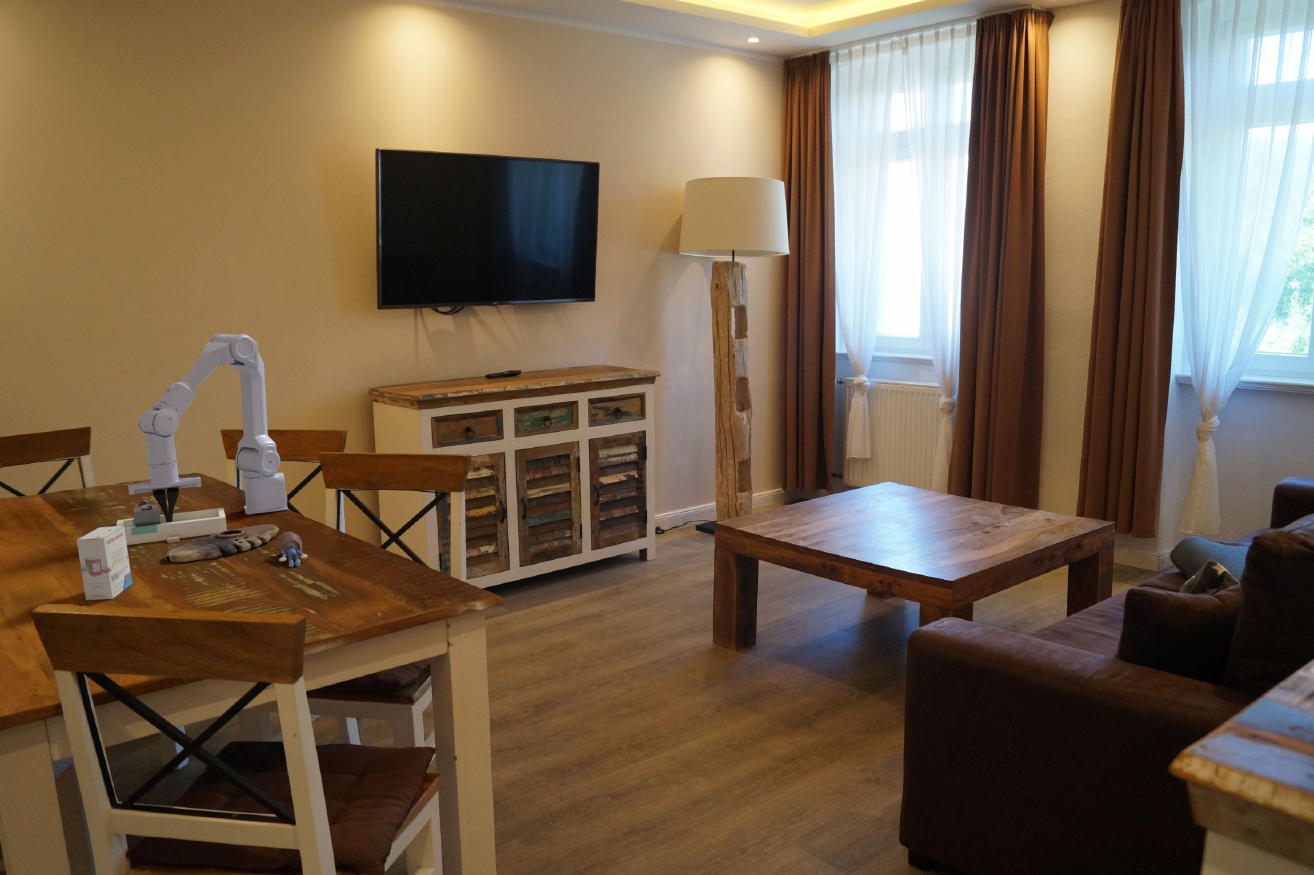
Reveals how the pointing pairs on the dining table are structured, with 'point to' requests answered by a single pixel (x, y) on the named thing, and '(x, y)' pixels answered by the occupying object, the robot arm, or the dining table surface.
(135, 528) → the white rectangular tray
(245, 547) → the mask
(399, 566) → the dining table surface
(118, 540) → the ink box
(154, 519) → the rider
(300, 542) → the figurine
